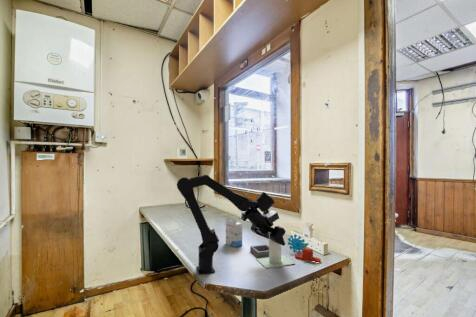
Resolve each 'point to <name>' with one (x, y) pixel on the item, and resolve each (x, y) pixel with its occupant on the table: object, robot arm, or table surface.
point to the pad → (268, 264)
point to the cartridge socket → (260, 250)
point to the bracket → (307, 255)
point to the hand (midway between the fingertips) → (277, 241)
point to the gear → (297, 243)
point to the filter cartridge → (274, 251)
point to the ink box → (233, 232)
